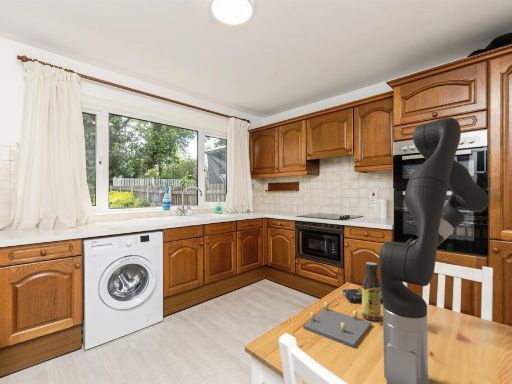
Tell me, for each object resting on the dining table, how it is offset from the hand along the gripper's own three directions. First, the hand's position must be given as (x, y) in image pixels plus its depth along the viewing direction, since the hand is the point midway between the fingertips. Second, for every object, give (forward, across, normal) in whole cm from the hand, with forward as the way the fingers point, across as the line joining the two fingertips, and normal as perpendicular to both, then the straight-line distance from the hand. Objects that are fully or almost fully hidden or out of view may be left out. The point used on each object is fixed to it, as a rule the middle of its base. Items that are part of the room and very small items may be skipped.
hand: (401, 263), depth 92 cm
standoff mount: (+32, +8, -3) cm, 33 cm away
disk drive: (+21, -18, +9) cm, 28 cm away
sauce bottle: (+22, 0, +7) cm, 23 cm away
